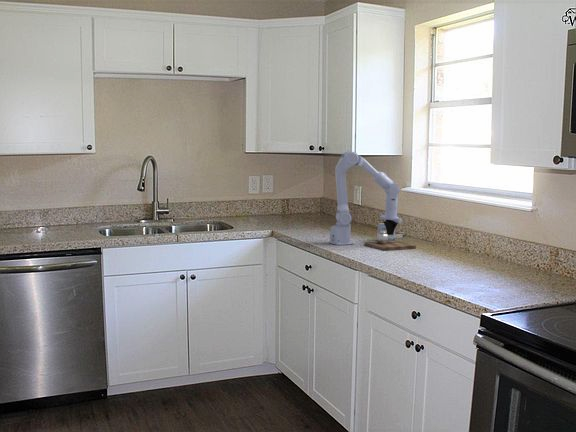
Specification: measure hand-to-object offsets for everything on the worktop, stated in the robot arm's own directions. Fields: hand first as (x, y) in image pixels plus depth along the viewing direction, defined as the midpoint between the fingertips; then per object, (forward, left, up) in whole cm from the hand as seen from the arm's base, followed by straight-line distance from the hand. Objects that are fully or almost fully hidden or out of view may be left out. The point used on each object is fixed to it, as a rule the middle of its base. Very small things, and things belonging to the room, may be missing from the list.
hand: (390, 235), depth 319 cm
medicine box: (+5, +10, -4) cm, 12 cm away
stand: (-5, -6, -4) cm, 9 cm away
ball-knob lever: (-3, -5, -2) cm, 6 cm away
